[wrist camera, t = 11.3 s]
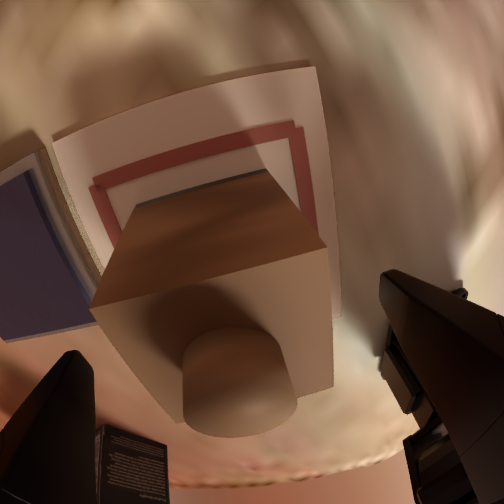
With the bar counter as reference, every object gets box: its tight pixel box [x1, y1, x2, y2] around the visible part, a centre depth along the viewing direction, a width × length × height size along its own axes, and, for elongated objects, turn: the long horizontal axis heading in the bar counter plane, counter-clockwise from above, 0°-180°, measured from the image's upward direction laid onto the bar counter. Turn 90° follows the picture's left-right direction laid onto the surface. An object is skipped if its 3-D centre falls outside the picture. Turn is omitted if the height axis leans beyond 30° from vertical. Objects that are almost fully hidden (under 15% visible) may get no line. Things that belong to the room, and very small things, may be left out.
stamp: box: [89, 168, 334, 438], centre depth 9 cm, size 5×5×8 cm
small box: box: [95, 425, 170, 504], centre depth 17 cm, size 11×6×10 cm, turn 137°
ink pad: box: [0, 147, 102, 343], centre depth 10 cm, size 8×8×1 cm
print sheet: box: [52, 66, 341, 319], centre depth 12 cm, size 10×12×1 cm
